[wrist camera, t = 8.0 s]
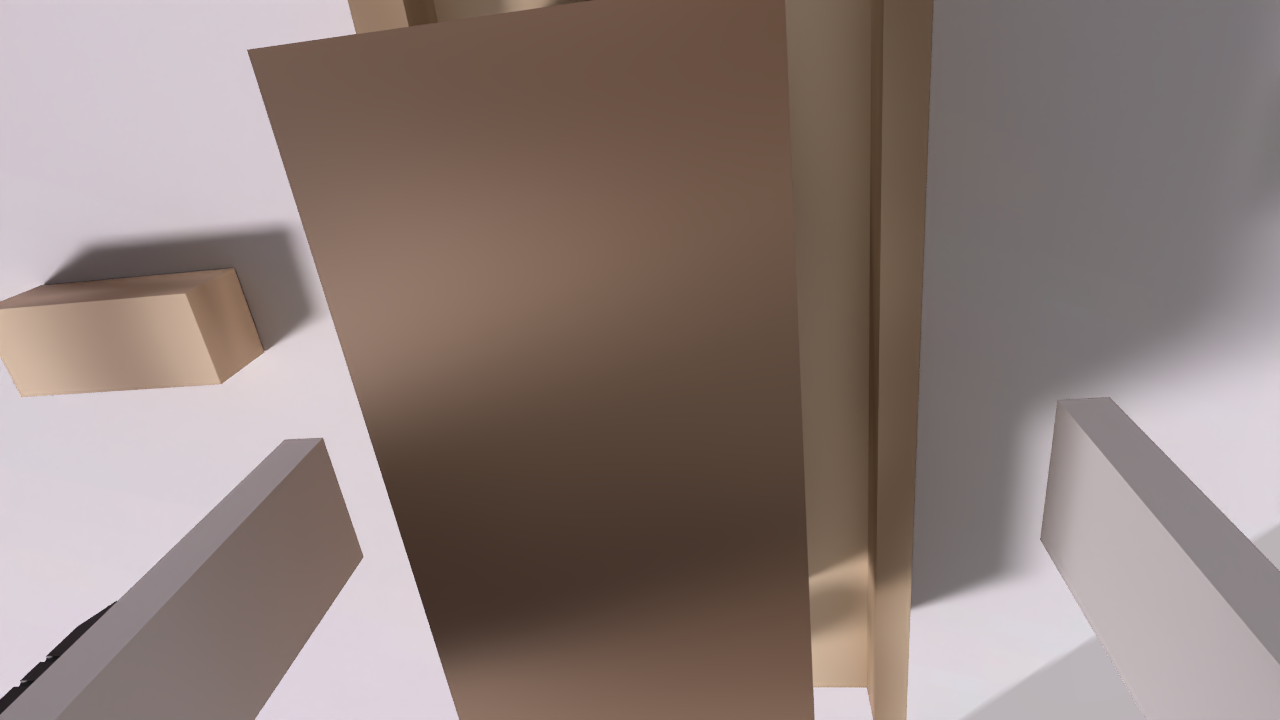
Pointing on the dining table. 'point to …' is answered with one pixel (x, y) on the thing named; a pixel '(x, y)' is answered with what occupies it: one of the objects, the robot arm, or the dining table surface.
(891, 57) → the ledge
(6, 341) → the block
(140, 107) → the dining table surface
